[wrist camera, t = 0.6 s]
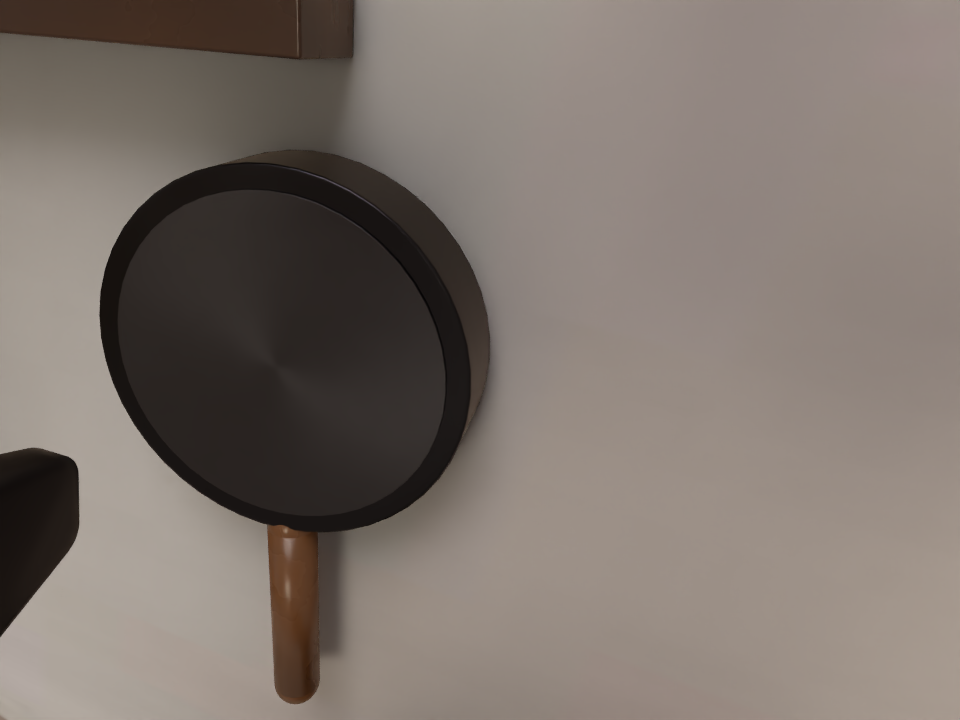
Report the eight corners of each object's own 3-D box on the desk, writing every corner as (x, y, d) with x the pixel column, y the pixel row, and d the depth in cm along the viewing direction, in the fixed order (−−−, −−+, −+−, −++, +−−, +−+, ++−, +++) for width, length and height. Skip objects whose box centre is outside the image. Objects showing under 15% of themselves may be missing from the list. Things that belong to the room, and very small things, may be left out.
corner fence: (350, 563, 24) (311, 628, 21) (-69, 477, 27) (-151, 526, 24) (354, -16, 17) (299, -29, 15) (-204, -56, 20) (-338, -72, 17)
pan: (461, 687, 25) (442, 750, 23) (187, 625, 27) (144, 678, 24) (506, 171, 18) (485, 189, 16) (136, 130, 20) (70, 141, 18)
